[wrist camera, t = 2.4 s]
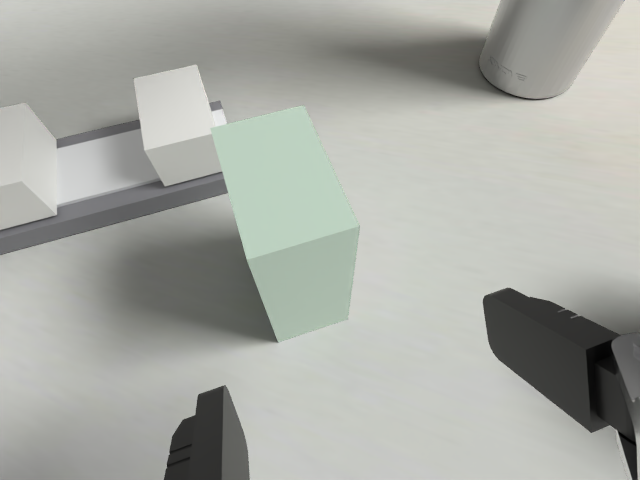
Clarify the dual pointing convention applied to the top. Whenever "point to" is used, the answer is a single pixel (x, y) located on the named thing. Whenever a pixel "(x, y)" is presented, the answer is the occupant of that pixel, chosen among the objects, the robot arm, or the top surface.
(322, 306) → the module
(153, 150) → the board
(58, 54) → the top surface
